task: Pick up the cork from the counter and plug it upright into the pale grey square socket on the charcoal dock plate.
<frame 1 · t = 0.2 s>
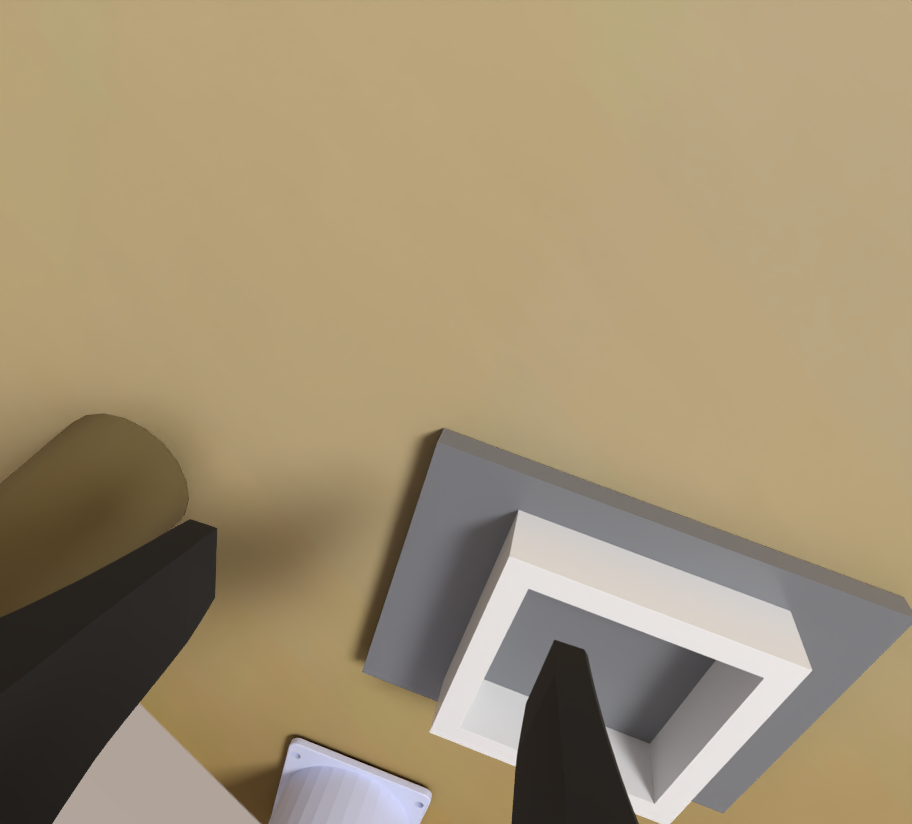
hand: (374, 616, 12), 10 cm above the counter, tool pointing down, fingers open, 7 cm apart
socket dock: (597, 630, 24), on the counter
cork: (127, 473, 26), on the counter
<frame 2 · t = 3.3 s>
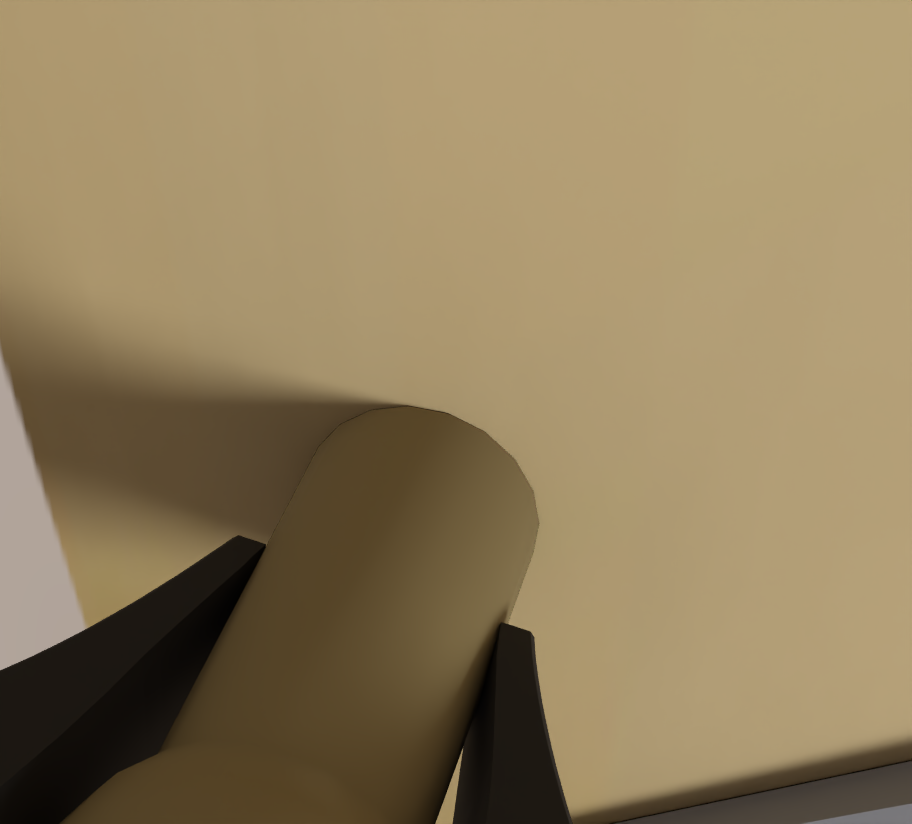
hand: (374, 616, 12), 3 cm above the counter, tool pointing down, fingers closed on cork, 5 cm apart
cork: (421, 508, 15), on the counter, touching gripper
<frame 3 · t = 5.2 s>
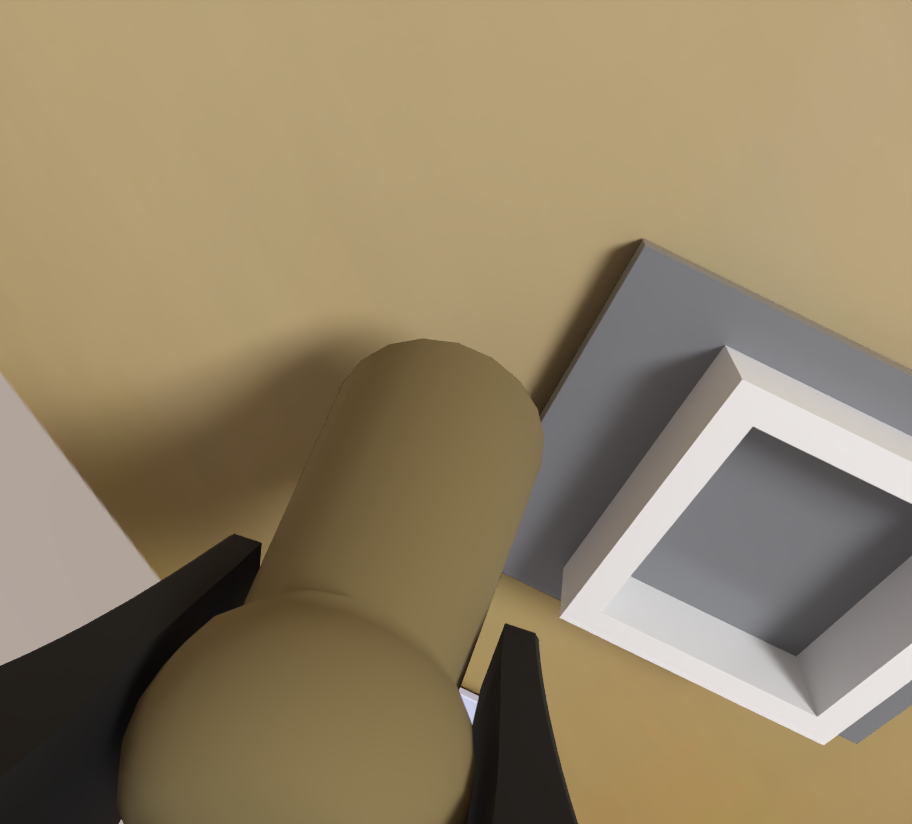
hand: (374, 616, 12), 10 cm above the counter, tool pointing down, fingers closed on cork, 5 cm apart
socket dock: (761, 517, 21), on the counter
cork: (438, 433, 17), point 4 cm above the counter, touching gripper
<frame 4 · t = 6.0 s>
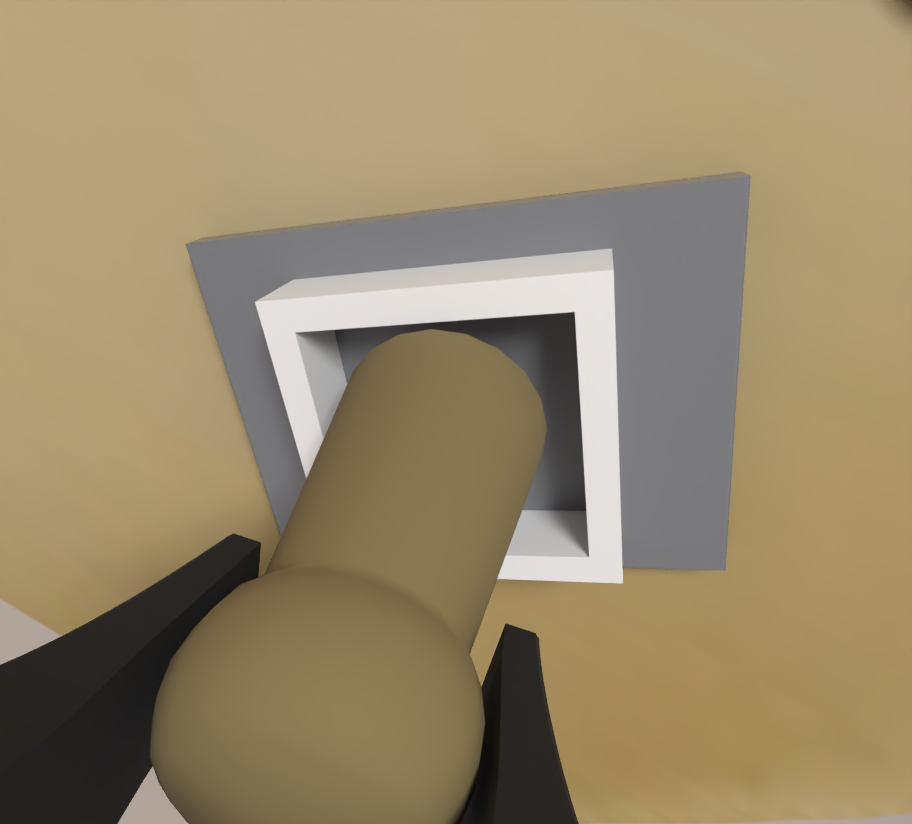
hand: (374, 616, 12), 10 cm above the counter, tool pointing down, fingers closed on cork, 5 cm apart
socket dock: (469, 399, 21), on the counter
cork: (444, 422, 18), point 4 cm above the counter, touching gripper
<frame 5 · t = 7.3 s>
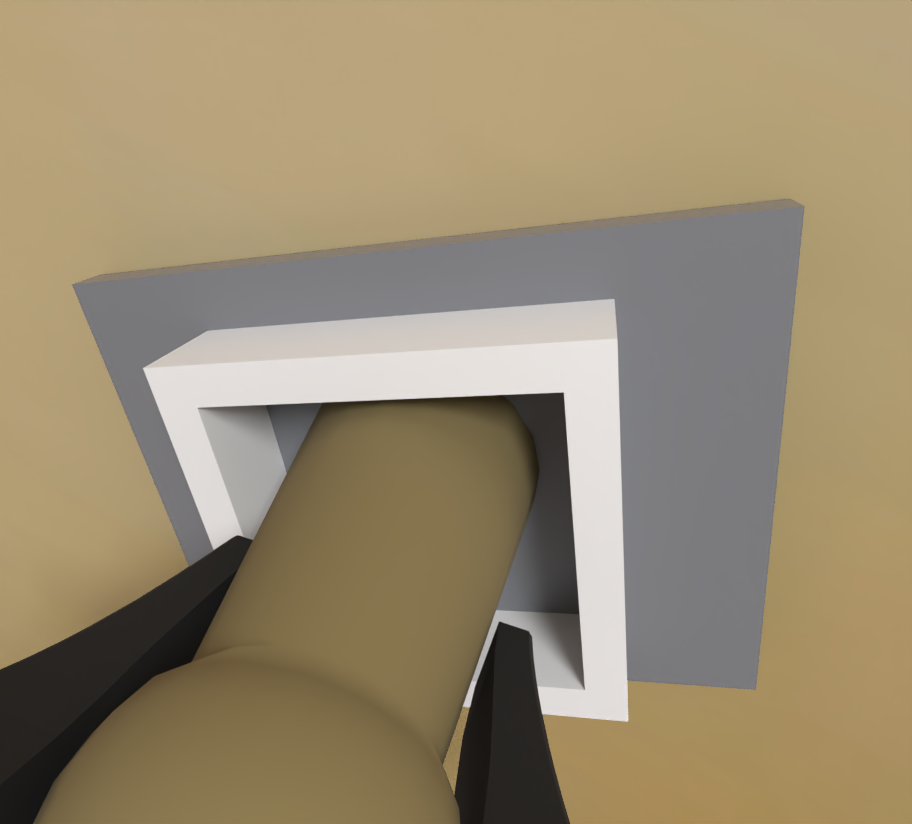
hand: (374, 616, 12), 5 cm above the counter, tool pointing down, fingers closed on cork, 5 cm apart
socket dock: (436, 475, 17), on the counter
cork: (424, 461, 16), point 1 cm above the counter, touching gripper, socket dock
when the fingers open (5 cm above the counter, at t = 7.6 s): cork stays where it is, resting on socket dock.
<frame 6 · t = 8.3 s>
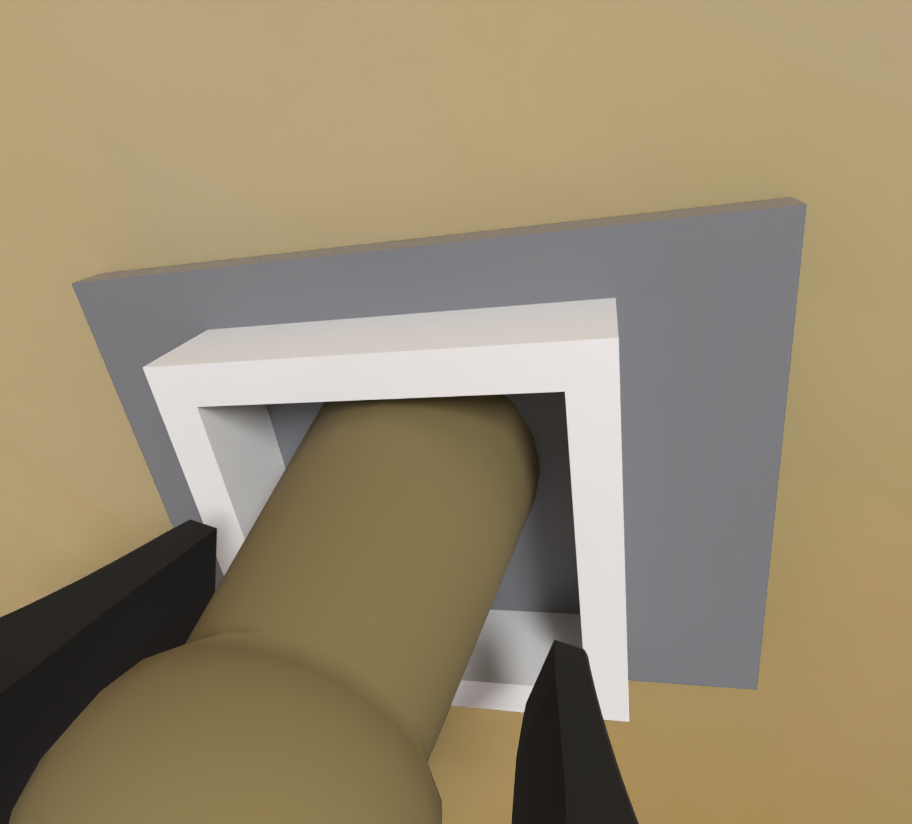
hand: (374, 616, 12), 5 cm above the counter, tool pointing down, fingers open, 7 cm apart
socket dock: (436, 474, 17), on the counter
cork: (425, 459, 16), point 1 cm above the counter, touching socket dock
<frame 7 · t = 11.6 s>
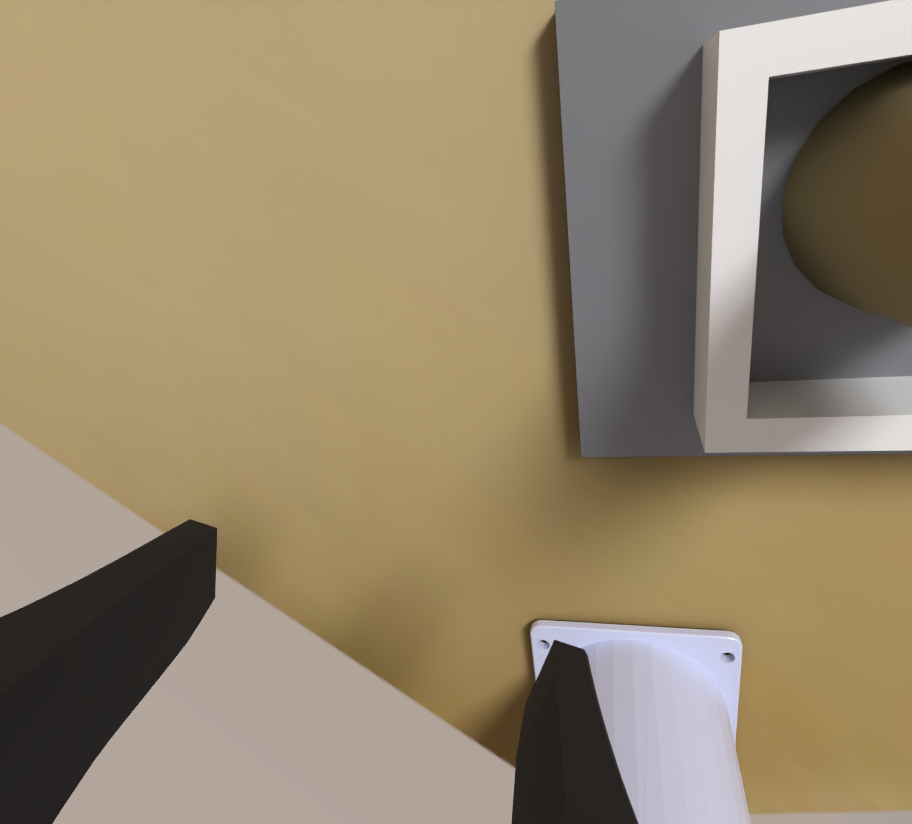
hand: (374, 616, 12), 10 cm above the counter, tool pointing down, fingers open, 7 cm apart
socket dock: (889, 226, 16), on the counter
cork: (911, 191, 15), point 1 cm above the counter, touching socket dock
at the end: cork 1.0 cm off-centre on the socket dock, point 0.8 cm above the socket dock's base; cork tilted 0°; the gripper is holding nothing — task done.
